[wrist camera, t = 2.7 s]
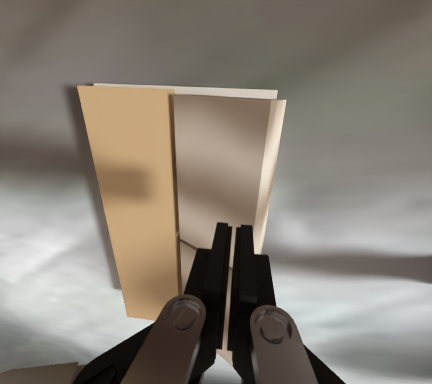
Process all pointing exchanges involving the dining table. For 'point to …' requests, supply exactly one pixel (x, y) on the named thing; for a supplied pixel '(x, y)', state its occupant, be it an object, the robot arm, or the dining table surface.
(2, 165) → the dining table surface
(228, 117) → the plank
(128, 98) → the floor board
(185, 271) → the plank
